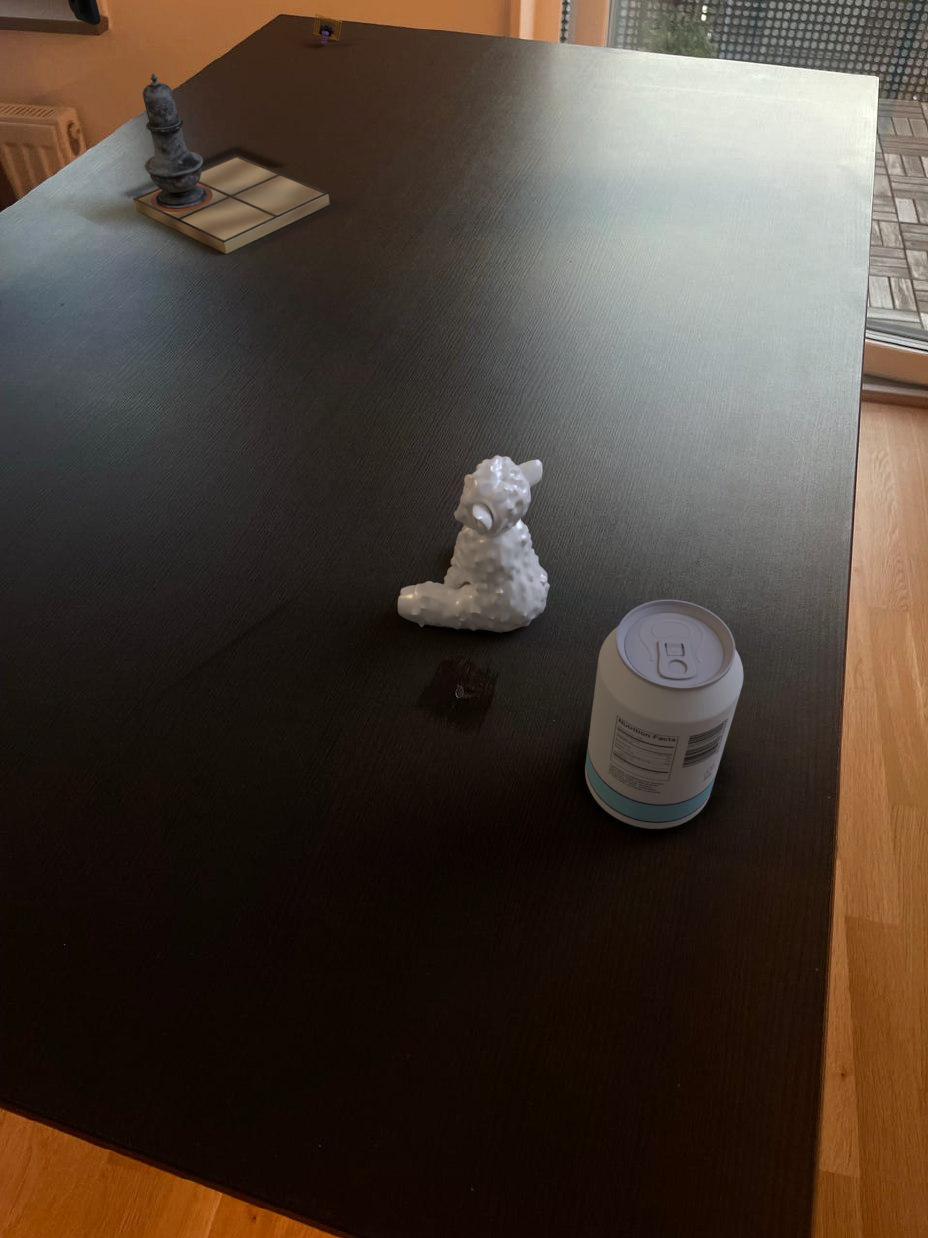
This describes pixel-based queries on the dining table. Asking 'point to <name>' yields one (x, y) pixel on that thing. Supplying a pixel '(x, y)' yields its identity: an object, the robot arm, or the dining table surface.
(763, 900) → the dining table surface
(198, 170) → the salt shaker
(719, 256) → the dining table surface
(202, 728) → the dining table surface
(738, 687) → the beverage can
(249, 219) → the board
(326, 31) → the framed picture
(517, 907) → the dining table surface
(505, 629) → the white creature statuette
